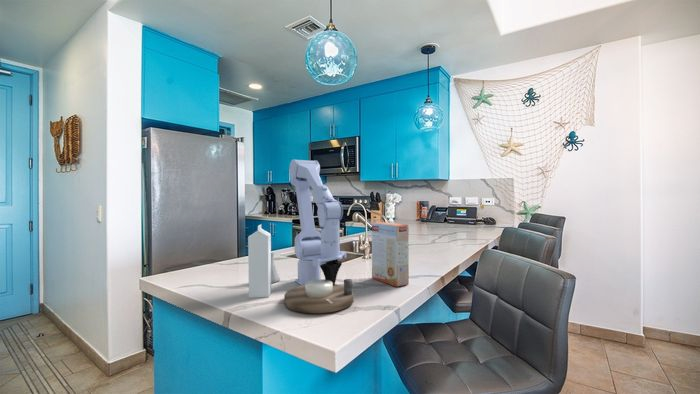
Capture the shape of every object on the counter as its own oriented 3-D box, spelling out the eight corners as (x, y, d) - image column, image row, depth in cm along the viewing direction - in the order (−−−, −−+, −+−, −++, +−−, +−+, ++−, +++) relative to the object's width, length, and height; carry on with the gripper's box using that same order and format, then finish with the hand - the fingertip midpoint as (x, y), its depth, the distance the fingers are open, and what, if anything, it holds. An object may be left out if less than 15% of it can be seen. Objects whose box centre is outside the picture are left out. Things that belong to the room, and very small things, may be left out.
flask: (274, 284, 111) (274, 256, 111) (255, 283, 112) (255, 255, 112) (283, 278, 118) (282, 252, 118) (265, 277, 120) (264, 251, 119)
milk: (248, 298, 97) (247, 226, 96) (252, 291, 103) (251, 224, 102) (269, 297, 97) (267, 225, 97) (271, 291, 103) (270, 223, 103)
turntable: (276, 295, 97) (276, 276, 97) (336, 286, 106) (336, 268, 106) (296, 318, 79) (296, 294, 79) (365, 305, 88) (365, 283, 88)
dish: (301, 291, 94) (301, 281, 94) (326, 287, 98) (325, 278, 98) (311, 299, 87) (311, 289, 87) (337, 295, 91) (337, 284, 91)
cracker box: (409, 284, 109) (409, 224, 109) (396, 287, 106) (396, 225, 106) (384, 275, 121) (383, 221, 121) (371, 278, 118) (371, 222, 117)
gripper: (326, 245, 89) (326, 293, 89) (354, 239, 101) (354, 281, 101) (306, 243, 93) (307, 289, 93) (336, 237, 105) (336, 278, 105)
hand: (330, 285), depth 98 cm, fingers closed
